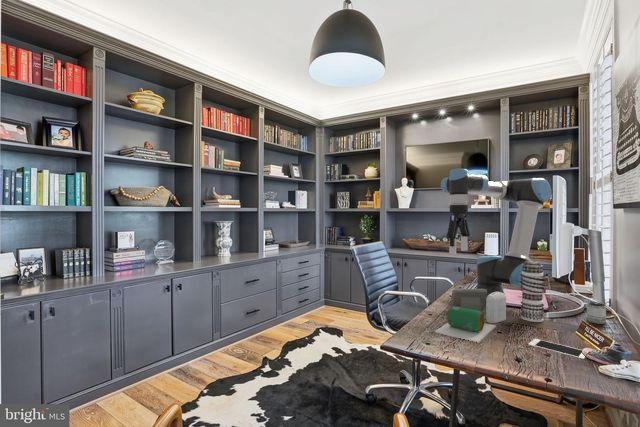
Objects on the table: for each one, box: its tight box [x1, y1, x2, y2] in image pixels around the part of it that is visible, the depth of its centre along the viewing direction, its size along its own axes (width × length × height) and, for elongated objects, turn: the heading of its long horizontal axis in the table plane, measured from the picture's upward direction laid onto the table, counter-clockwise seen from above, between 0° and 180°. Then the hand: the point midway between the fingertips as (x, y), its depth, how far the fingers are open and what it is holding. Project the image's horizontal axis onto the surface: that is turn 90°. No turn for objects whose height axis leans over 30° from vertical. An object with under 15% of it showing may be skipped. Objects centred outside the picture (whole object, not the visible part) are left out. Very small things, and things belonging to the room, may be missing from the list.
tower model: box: [520, 260, 546, 323], centre depth 150 cm, size 9×9×25 cm
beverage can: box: [446, 306, 485, 332], centre depth 137 cm, size 8×8×12 cm
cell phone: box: [527, 338, 586, 360], centre depth 119 cm, size 8×16×1 cm, turn 42°
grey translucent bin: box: [449, 288, 487, 313], centre depth 162 cm, size 16×9×11 cm, turn 78°
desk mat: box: [434, 322, 496, 344], centre depth 138 cm, size 22×16×1 cm
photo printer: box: [485, 292, 507, 324], centre depth 148 cm, size 10×4×12 cm, turn 123°
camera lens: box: [586, 301, 607, 325], centre depth 146 cm, size 6×6×8 cm
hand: (458, 252), depth 153 cm, fingers open, 13 cm apart
